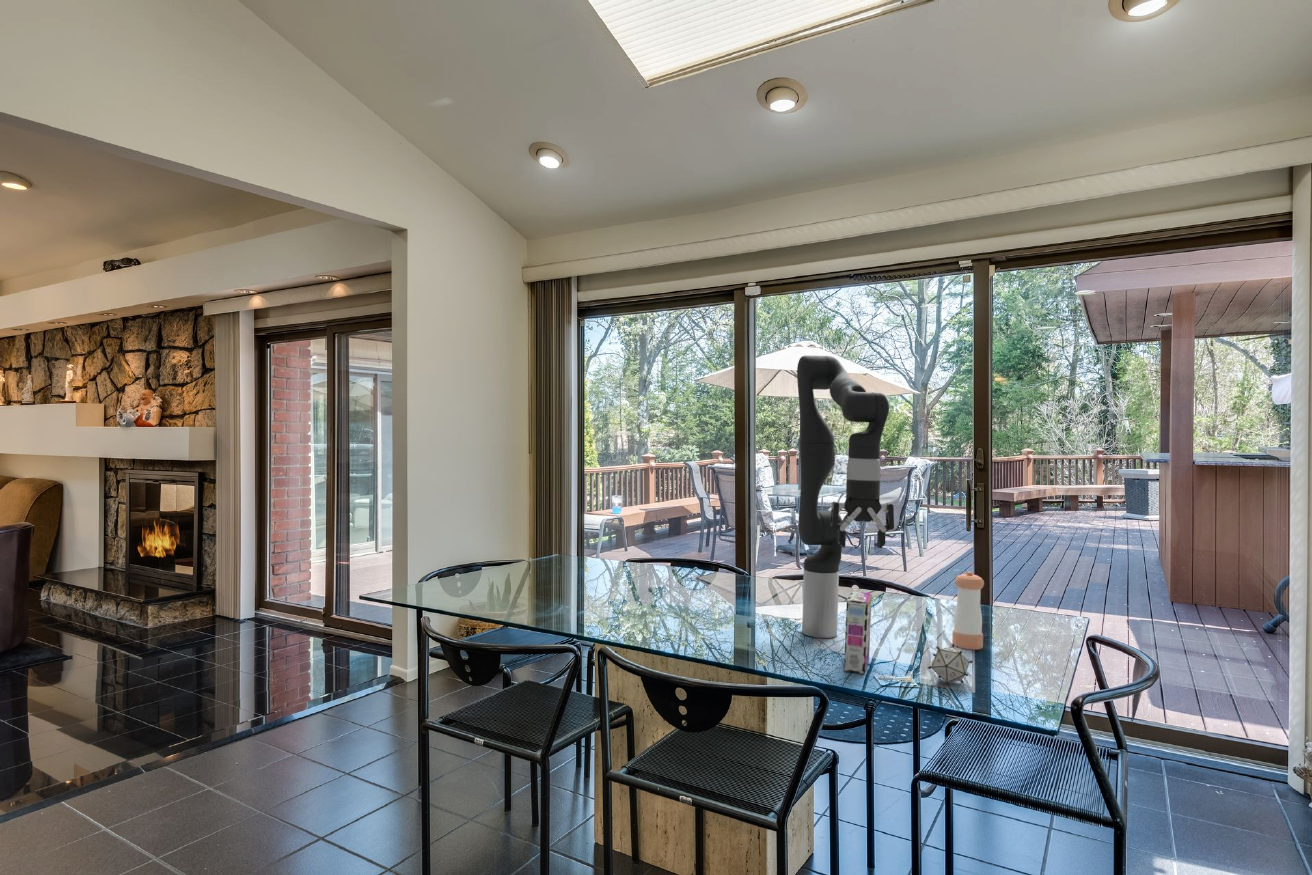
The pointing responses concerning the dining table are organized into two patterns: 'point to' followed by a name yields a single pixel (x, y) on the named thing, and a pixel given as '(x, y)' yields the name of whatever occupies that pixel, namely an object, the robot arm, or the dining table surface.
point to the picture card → (896, 679)
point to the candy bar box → (857, 632)
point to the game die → (950, 665)
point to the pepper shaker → (968, 612)
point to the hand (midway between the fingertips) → (861, 547)
